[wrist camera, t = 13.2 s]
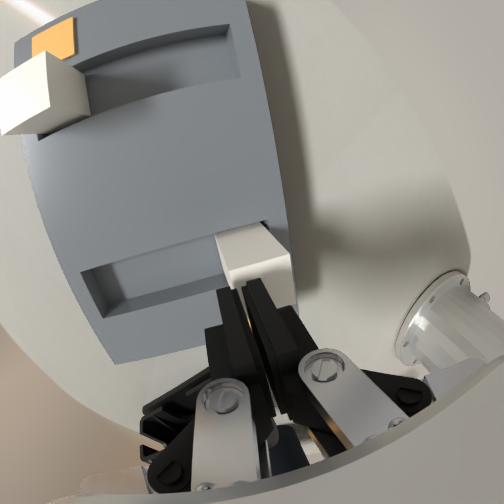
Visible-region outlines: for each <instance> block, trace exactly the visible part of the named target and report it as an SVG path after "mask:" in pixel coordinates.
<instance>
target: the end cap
mask: <svg viewBox="0 0 504 504" xmlns="http://www.w3.org/2000/svg"><path fill="white" fill-rule="evenodd" d="M210 382H211V377H210V370H209V367H207V368H206V369H204V370H203V371H201V372H199V373H198V374H196V375H195V376H193V377H191V378H190V379H188V380H187V381H185V382H183V383H182V384H180V385H179V386H177V387H175V388H174V389H172V390H170V391H169V392H167V393H165V394H164V395H162V396H160V397H159V398H157V399H155V400H153V401H152V402H150V403H148V404H147V405H145V406H144V407H143V414H144V415H145V416H143V417H142V418H141V420H140V434H141V435H144V436H146V437H148V438H150V439H152V440H155V441H157V442H159V443H161V444H162V445H163V446H164V448H166V447H167V446H168V445H169V444H170V443H171V442H172V441H173V440H174V439H175V438H176V437H177V435H178V434H179V433H180V432H181V431H182V430H183V429H184V428H185V427H186V426H187V425H188V424H189V423H190V422H191V421H192V419H193V418H194V417H195V413H196V401H197V397H198V394H199V392H200V391H201V389H202V388H203V387H204V386H206V385H207V384H208V383H210ZM271 420H272V423H273V427H274V429H273V431H272V432H271V434H270V435H269V437H268V438H267V439H266V440H267V443H268V449H270V448H272V447H273V446H275V445H276V444H277V442H278V438H279V435H278V429H277V426H276V423H275V421H274V419H273V417H272V418H271ZM162 451H163V450H162ZM162 451H157V450H155V449H152V448H150V447H147V446H145V445H141V446H140V458H141V460H142V461H143V462H146V463H149V464H151V463H152V461H153V460H154V459H155V458H156V457H157V456H158V455H159V454H160V453H161V452H162Z"/></svg>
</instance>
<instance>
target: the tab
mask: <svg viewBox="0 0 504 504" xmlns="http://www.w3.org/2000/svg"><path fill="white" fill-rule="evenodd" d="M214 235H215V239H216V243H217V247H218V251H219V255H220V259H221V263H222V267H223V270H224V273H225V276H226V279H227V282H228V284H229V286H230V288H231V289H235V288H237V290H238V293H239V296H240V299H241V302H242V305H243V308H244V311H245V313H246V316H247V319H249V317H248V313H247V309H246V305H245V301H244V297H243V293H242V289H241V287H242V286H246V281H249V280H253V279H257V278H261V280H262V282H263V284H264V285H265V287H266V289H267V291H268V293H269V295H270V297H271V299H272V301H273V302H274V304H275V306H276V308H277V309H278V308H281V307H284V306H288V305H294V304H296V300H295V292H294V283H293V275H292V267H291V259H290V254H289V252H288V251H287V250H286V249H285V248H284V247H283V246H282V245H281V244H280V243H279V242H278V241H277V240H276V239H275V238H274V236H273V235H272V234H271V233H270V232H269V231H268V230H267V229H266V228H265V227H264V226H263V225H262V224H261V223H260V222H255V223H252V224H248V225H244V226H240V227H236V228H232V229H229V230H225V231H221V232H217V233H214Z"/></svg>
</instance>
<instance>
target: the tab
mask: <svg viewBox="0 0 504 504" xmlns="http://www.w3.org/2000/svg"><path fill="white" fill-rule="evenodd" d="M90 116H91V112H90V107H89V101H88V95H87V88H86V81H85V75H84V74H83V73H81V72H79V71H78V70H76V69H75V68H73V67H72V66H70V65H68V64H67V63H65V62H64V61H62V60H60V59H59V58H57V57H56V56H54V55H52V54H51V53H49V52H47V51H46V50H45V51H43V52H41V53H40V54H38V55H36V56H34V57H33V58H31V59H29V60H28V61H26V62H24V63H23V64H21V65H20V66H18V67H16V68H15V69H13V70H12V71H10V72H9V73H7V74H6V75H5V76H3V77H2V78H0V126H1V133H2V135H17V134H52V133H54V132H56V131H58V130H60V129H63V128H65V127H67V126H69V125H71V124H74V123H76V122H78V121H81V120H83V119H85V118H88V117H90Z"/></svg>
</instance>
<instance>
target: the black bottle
mask: <svg viewBox="0 0 504 504" xmlns="http://www.w3.org/2000/svg"><path fill="white" fill-rule="evenodd" d="M277 429H278V435H279V438H278V442H277V444H276V445H275V446H273V447H272V448H270V449H268V451H269V459H270V467H271V475H272V477H273V476H276V475H280V474H284V473H287V472H290V471H293V470H297V469H300V468H303V467H306V466H309V465H310V464H309V462H308V460H307V457H306V455H305V453H304V451H303V449H302V446H301V444H300V442H299V440H298V438H297V435H296V433H295V431H294V429H293V428H291V427H289V426H277Z"/></svg>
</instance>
